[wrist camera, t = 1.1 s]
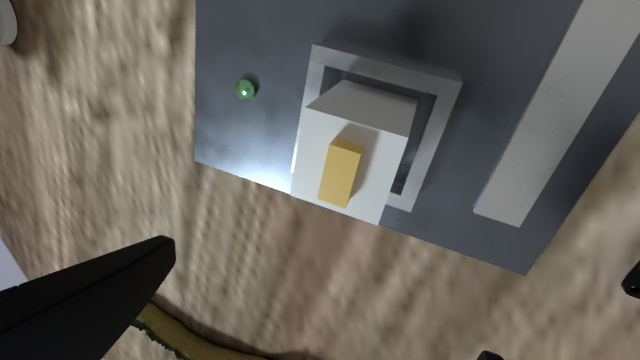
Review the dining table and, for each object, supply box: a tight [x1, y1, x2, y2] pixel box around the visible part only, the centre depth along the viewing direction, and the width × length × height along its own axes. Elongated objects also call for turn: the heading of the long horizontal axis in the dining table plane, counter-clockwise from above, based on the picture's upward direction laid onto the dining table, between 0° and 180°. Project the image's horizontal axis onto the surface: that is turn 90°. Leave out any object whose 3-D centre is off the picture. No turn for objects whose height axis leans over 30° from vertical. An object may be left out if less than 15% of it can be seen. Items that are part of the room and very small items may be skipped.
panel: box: [195, 0, 640, 276], centre depth 15 cm, size 22×24×2 cm
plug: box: [289, 79, 418, 226], centre depth 16 cm, size 4×4×7 cm
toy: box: [131, 302, 269, 360], centre depth 33 cm, size 4×28×5 cm, turn 77°
